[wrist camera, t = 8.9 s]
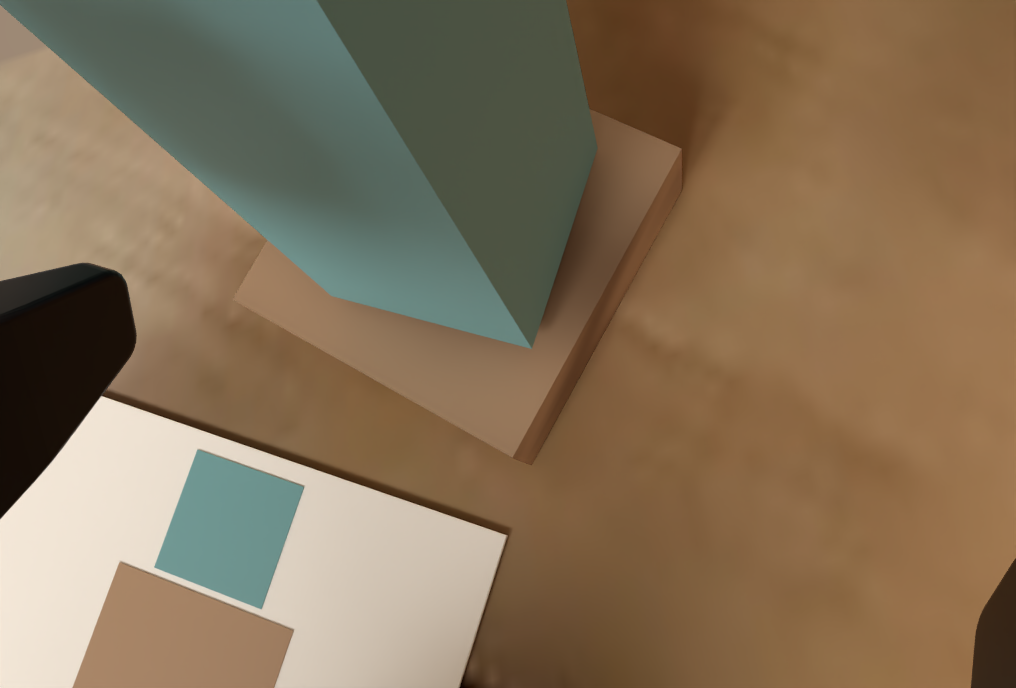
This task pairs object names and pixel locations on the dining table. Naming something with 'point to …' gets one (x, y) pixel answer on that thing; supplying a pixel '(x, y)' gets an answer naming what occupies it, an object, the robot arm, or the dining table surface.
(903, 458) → the dining table surface
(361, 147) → the teal brick
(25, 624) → the page
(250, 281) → the walnut base brick
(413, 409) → the dining table surface
